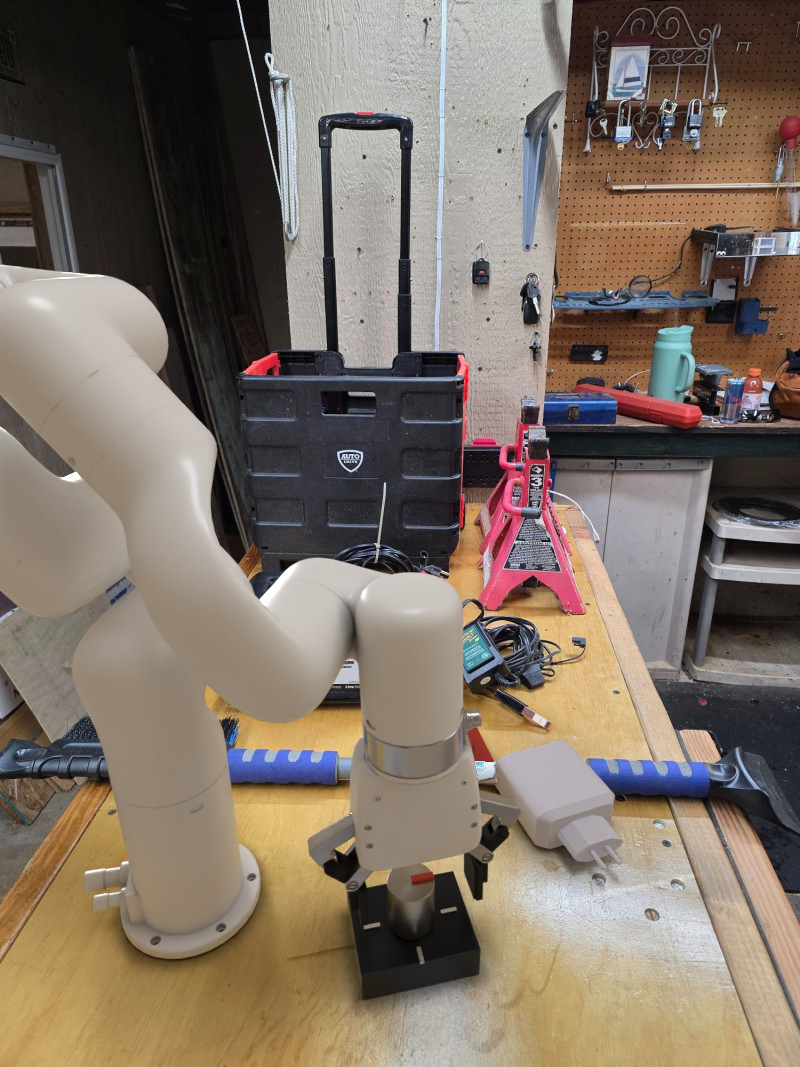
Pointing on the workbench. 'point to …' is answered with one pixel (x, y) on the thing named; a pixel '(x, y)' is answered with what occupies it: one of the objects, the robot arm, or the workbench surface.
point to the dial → (410, 901)
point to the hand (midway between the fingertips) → (418, 898)
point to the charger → (560, 800)
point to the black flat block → (414, 944)
